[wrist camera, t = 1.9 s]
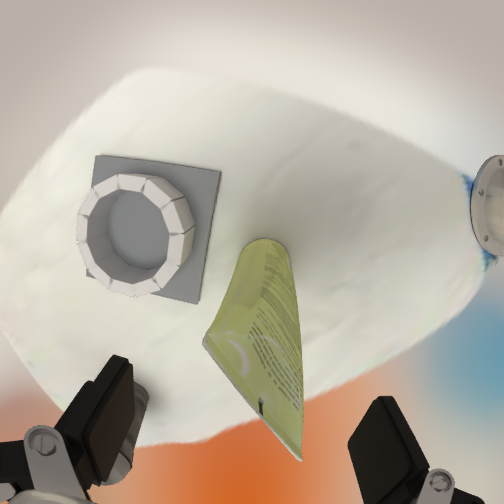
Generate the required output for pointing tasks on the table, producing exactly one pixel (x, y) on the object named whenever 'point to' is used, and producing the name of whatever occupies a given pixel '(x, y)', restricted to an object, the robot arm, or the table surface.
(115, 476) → the beverage cup
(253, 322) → the tube
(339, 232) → the table surface
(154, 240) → the socket board
